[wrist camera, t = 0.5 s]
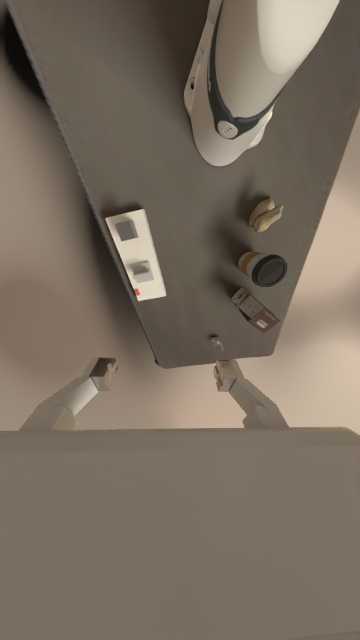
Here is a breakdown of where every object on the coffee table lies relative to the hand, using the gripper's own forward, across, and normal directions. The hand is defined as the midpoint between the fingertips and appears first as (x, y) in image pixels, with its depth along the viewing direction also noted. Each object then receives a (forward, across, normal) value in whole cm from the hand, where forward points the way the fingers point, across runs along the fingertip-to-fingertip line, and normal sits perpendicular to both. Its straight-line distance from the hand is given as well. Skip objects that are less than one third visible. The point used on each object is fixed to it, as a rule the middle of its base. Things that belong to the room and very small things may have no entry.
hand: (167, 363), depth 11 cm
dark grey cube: (+40, +13, -7) cm, 43 cm away
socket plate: (+42, +11, +2) cm, 44 cm away
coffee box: (+43, -30, +13) cm, 54 cm away
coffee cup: (+43, -26, -1) cm, 50 cm away
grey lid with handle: (+40, +10, +4) cm, 41 cm away
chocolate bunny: (+43, -25, -14) cm, 51 cm away
